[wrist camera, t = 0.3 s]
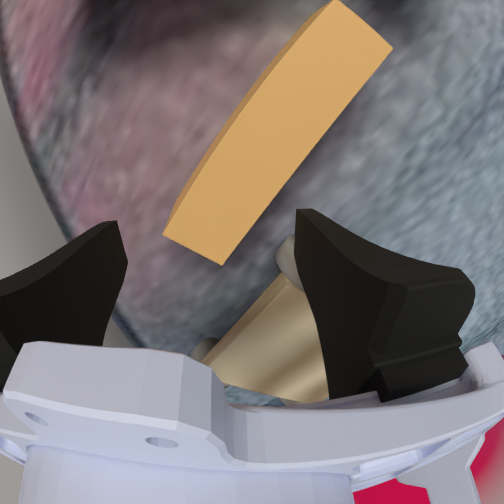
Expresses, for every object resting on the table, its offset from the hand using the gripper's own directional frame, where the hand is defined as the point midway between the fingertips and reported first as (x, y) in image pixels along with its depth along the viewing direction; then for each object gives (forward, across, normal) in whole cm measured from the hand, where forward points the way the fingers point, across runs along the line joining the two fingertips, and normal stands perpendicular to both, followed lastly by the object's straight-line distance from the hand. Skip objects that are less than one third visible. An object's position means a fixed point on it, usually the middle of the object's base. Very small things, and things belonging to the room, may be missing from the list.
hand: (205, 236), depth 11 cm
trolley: (+9, -6, +15) cm, 19 cm away
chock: (+9, -3, -3) cm, 10 cm away
